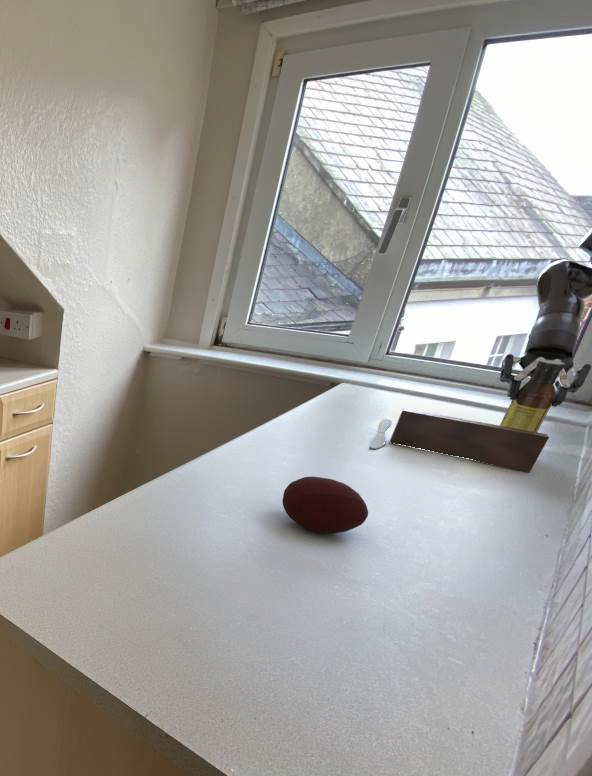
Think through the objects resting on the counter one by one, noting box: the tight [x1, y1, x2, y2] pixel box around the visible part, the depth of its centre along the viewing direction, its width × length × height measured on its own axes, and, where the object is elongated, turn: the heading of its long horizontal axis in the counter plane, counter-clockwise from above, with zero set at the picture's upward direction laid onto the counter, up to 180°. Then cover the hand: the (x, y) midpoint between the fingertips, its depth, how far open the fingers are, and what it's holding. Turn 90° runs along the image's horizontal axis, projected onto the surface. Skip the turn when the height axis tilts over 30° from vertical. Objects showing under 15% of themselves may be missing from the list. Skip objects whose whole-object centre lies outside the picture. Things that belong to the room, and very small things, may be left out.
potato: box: [281, 475, 369, 535], centre depth 89 cm, size 12×11×8 cm
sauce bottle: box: [499, 360, 565, 433], centre depth 121 cm, size 7×6×20 cm
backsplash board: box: [389, 407, 550, 474], centre depth 119 cm, size 24×2×8 cm, turn 53°
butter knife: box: [369, 418, 392, 450], centre depth 132 cm, size 1×27×3 cm
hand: (534, 401), depth 119 cm, fingers closed on sauce bottle, 6 cm apart
